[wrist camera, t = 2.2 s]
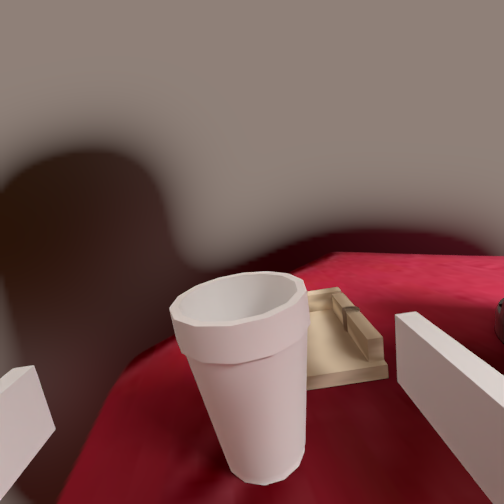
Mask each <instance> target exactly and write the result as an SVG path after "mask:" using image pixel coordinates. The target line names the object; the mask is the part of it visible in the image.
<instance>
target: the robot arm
mask: <svg viewBox="0 0 504 504" xmlns="http://www.w3.org/2000/svg"><path fill="white" fill-rule="evenodd" d="M395 332H396V358H397V382H398V383H399V384H400V385H401V387H402V388H403V389H404V390H405V392H406V393H407V394H408V396H409V397H410V398H411V399H412V401H413V402H414V403H415V405H416V406H417V407H418V408H419V410H420V411H421V412H422V413H423V415H424V416H425V417H426V419H427V420H428V421H429V422H430V424H431V425H432V426H433V428H434V429H435V430H436V431H437V433H438V434H439V435H440V437H441V438H442V439H443V440H444V442H445V443H446V444H447V445H448V447H449V448H450V449H451V451H452V452H453V453H454V454H455V456H456V457H457V458H458V460H459V461H460V462H461V463H462V465H463V466H464V467H465V468H466V470H467V471H468V472H469V474H470V475H471V476H472V477H473V479H474V480H475V481H476V483H477V484H478V485H479V486H480V488H481V489H482V490H483V492H484V493H485V494H486V495H487V497H488V498H489V499H490V500H491V502H492V503H493V504H504V375H502V374H501V373H499V372H498V371H497V370H495V369H494V368H493V367H491V366H490V365H489V364H487V363H486V362H484V361H483V360H482V359H480V358H479V357H478V356H476V355H475V354H473V353H472V352H471V351H469V350H468V349H467V348H465V347H464V346H463V345H461V344H460V343H458V342H457V341H456V340H454V339H453V338H452V337H450V336H449V335H448V334H446V333H445V332H443V331H442V330H441V329H439V328H438V327H437V326H435V325H434V324H433V323H431V322H430V321H428V320H427V319H426V318H424V317H423V316H422V315H420V314H419V313H418V312H416V311H415V312H408V313H401V314H395ZM495 332H496V334H497V336H498V338H499V339H500V340H501V341H502V342H503V343H504V298H503V299H502V300H501V301H500V302H499V303H498V305H497V307H496V311H495ZM54 430H55V426H54V423H53V420H52V417H51V414H50V411H49V408H48V405H47V402H46V399H45V396H44V393H43V390H42V387H41V385H40V381H39V378H38V375H37V372H36V370H35V367H34V365H33V366H26V367H19V368H13V369H12V370H11V371H9V372H8V373H7V374H5V375H4V376H3V377H2V378H0V500H1V499H2V498H3V496H4V495H5V494H6V493H7V491H8V490H9V489H10V488H11V486H12V485H13V483H14V482H15V481H16V480H17V479H18V477H19V476H20V475H21V473H22V472H23V471H24V469H25V468H26V467H27V466H28V464H29V463H30V462H31V460H32V459H33V458H34V457H35V455H36V454H37V453H38V451H39V450H40V449H41V448H42V446H43V445H44V443H45V442H46V441H47V440H48V438H49V437H50V436H51V435H52V433H53V432H54Z"/></svg>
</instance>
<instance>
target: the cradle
mask: <svg viewBox="0 0 504 504" xmlns="http://www.w3.org/2000/svg"><path fill="white" fill-rule="evenodd" d="M307 297H308V305H309V314H310V322H311V324H310V325H309V327H308V333H307V383H306V390H313V389H319V388H326V387H333V386H339V385H346V384H352V383H359V382H366V381H372V380H379V379H386V378H388V364H387V363H386V362H385V360H384V349H383V337H382V336H381V335H380V333H379V332H378V331H377V330H376V329H375V328H374V327H373V326H372V325H371V323H370V322H369V321H368V320H367V319H366V318H365V317H364V316H363V315H362V313H361V312H360V309H359V308H358V307H356V306H354V304H353V303H352V302H351V301H350V300H349V299H348V298H347V297H346V296H345V294H344V293H341V290H340V289H339V288H338V287H334V288H327V289H321V290H314V291H308V292H307Z"/></svg>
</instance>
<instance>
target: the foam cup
mask: <svg viewBox="0 0 504 504" xmlns="http://www.w3.org/2000/svg"><path fill="white" fill-rule="evenodd" d="M169 310H170V314H171V318H172V322H173V327H174V331H175V335H176V339H177V342H178V345H179V347H180V350H181V353H182V354H184V355H186V357H187V360H188V362H189V365H190V367H191V370H192V373H193V375H194V378H195V380H196V383H197V385H198V388H199V391H200V393H201V396H202V398H203V401H204V404H205V406H206V409H207V411H208V414H209V416H210V419H211V422H212V424H213V427H214V429H215V432H216V434H217V437H218V440H219V442H220V445H221V447H222V450H223V452H224V455H225V458H226V460H227V463H228V465H229V467H230V470H231V472H232V473H233V474H235V475H236V476H237V477H239V478H240V479H241V480H243V481H244V482H245V483H252V484H258V485H268V484H271V483H274V482H278V481H281V480H284V479H285V478H286V477H288V476H289V475H290V474H291V473H292V472H293V471H294V470H295V469H296V468H298V467H299V464H300V462H301V459H302V457H303V454H304V452H305V447H304V446H305V433H306V383H307V333H308V327H309V325H310V324H311V322H310V314H309V305H308V297H307V290H306V287H305V284H304V282H303V280H302V279H300V278H297V277H295V276H293V275H291V274H288V273H278V272H269V271H264V272H250V273H249V272H248V273H240V274H235V275H230V276H225V277H220V278H217V279H214V280H211V281H208V282H205V283H203V284H199V285H197V286H195V287H193V288H191V289H189V290H188V291H186V292H184V293H183V294H181V295H179V296H178V297H177V298H176V300H175V301H174V302H173V304H172V305H171V306H170V308H169Z"/></svg>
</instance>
